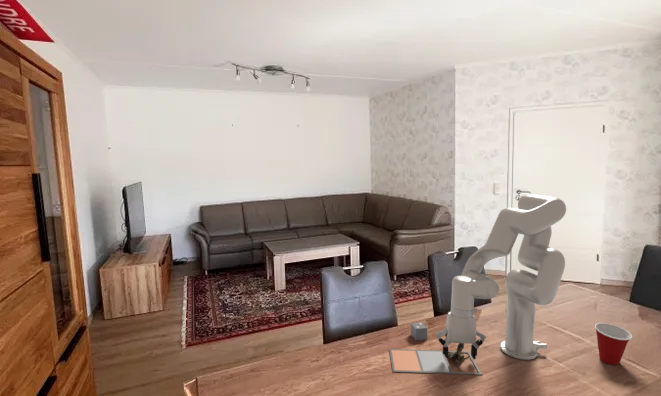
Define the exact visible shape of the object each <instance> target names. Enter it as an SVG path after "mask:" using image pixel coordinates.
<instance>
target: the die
mask: <svg viewBox="0 0 661 396" xmlns="http://www.w3.org/2000/svg"><path fill="white" fill-rule="evenodd" d="M411 335H412V336H411ZM410 336H411V337H412V338H413V339H414V341H416V340H417V341H425V340H426V341H427V340H428V327H427V325H425V324H424V323H423V322H422V321H421V322H413V323H410Z"/></svg>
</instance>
